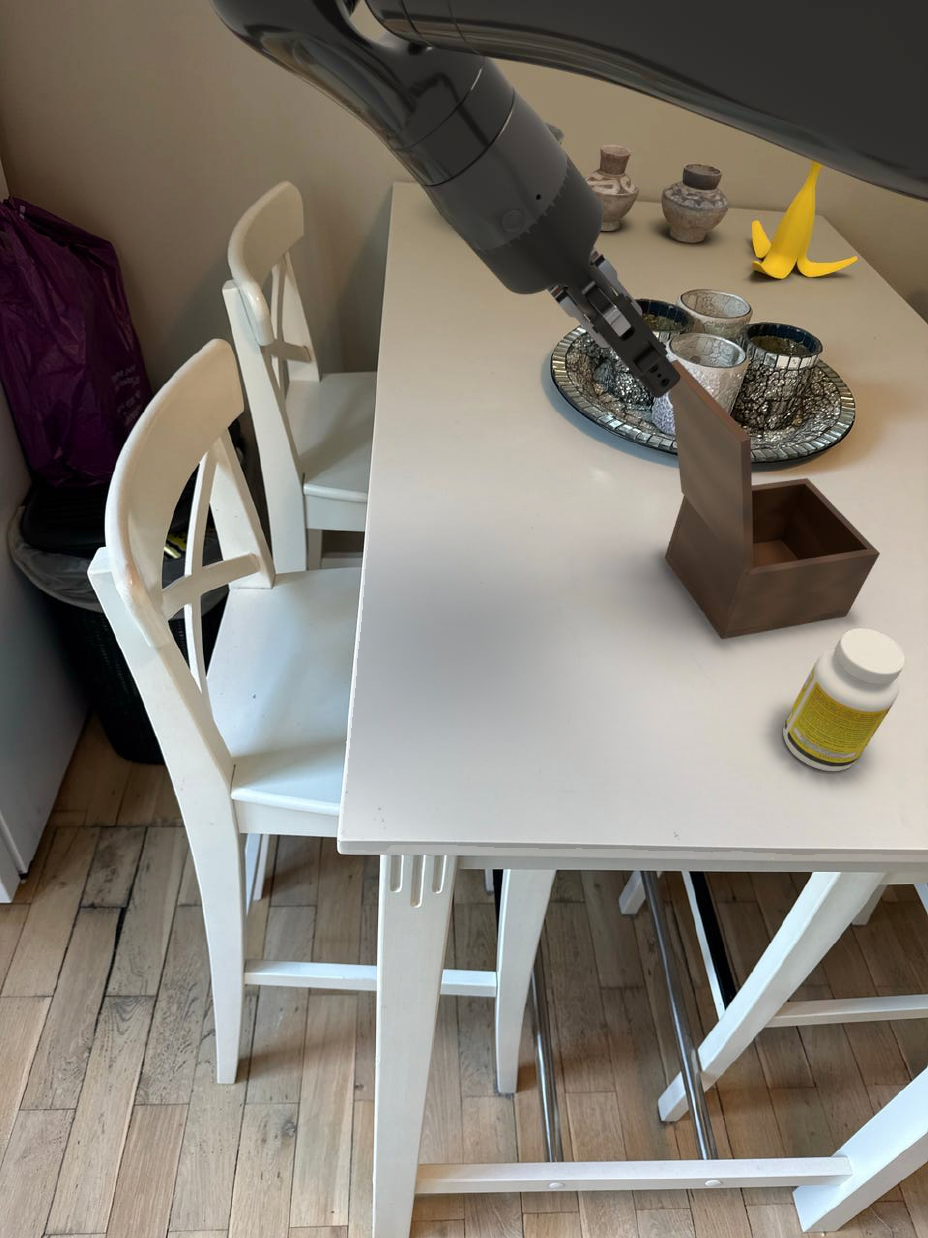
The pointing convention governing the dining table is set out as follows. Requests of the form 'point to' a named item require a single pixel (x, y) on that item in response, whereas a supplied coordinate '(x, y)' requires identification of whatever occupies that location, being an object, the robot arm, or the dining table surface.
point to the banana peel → (793, 238)
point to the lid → (714, 465)
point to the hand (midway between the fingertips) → (644, 360)
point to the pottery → (683, 203)
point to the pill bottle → (844, 700)
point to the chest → (774, 562)
